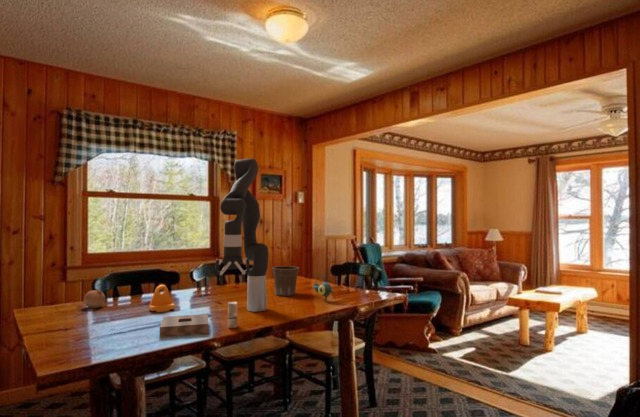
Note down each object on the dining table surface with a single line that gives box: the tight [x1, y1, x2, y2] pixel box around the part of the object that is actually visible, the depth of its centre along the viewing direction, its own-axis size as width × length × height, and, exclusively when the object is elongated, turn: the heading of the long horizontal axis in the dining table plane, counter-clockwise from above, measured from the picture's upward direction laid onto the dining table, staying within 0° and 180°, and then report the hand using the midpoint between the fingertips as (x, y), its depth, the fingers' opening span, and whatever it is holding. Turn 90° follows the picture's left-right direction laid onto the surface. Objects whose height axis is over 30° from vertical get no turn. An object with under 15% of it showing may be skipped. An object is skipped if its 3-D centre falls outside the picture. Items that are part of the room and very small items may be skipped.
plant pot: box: [271, 265, 300, 297], centre depth 236 cm, size 16×16×16 cm
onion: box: [83, 289, 106, 309], centre depth 199 cm, size 10×9×10 cm
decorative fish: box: [313, 273, 334, 302], centre depth 218 cm, size 13×12×6 cm
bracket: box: [148, 284, 175, 313], centre depth 195 cm, size 11×7×12 cm, turn 119°
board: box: [159, 313, 209, 338], centre depth 161 cm, size 18×16×4 cm
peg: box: [227, 301, 238, 329], centre depth 167 cm, size 4×4×10 cm
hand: (232, 283), depth 167 cm, fingers open, 8 cm apart
